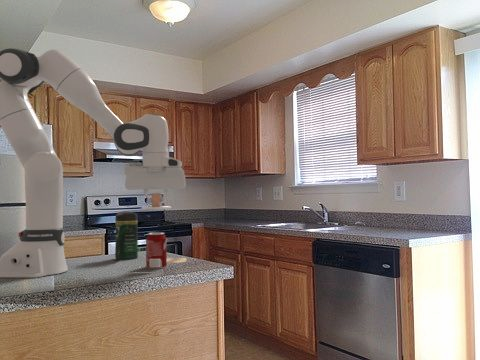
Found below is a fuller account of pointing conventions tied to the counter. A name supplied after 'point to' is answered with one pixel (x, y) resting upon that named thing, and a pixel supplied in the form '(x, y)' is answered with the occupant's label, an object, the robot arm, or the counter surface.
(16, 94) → the robot arm
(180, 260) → the mat
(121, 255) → the coffee jar
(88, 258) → the counter surface
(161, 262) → the soda can
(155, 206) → the lid
